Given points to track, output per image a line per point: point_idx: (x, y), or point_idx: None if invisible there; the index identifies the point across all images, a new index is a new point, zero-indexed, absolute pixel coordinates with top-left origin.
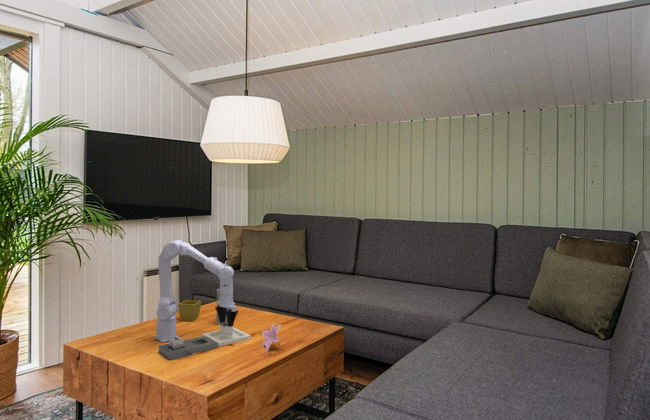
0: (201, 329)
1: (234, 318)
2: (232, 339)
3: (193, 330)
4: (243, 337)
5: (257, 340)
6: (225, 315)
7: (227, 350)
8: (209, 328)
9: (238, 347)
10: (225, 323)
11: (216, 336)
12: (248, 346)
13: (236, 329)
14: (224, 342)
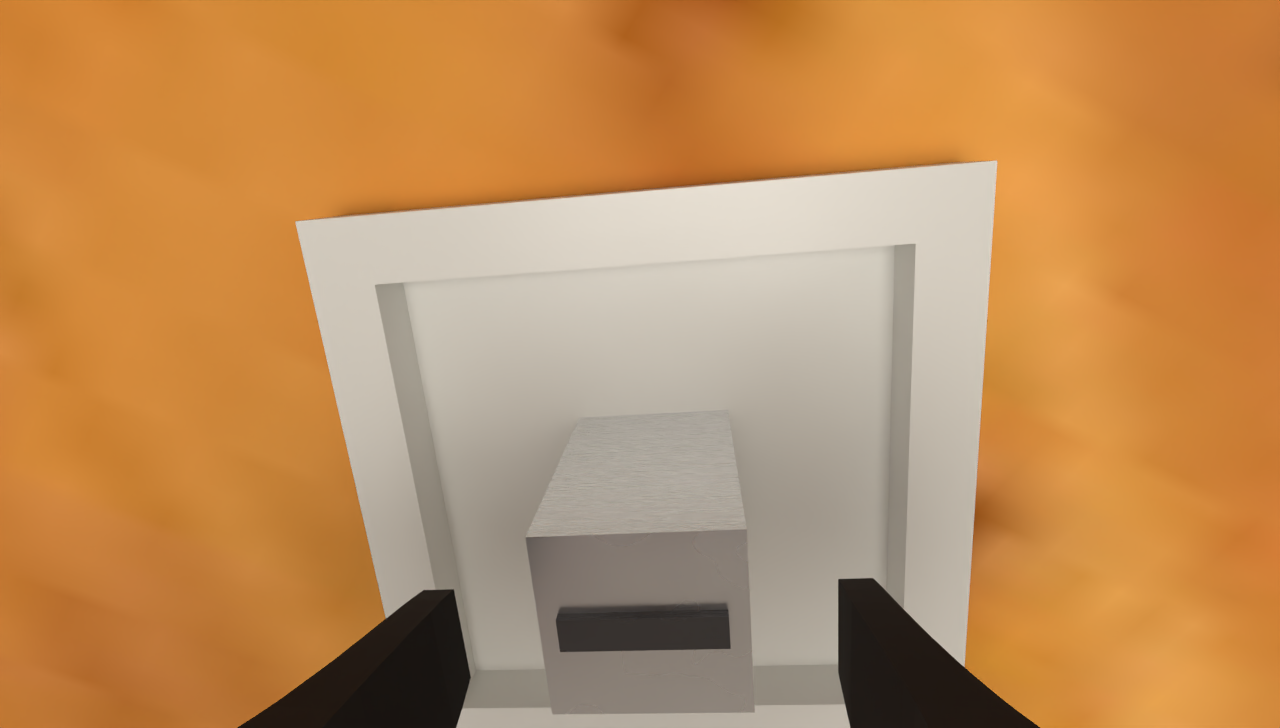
0: (46, 568)
1: (1008, 723)
2: (964, 537)
3: (58, 661)
4: (981, 328)
5: (1070, 60)
6: (361, 689)
7: (1123, 653)
8: (33, 464)
9: (1134, 490)
10: (576, 627)
11: (508, 565)
12: (1220, 347)
13: (463, 234)
14: (959, 657)
